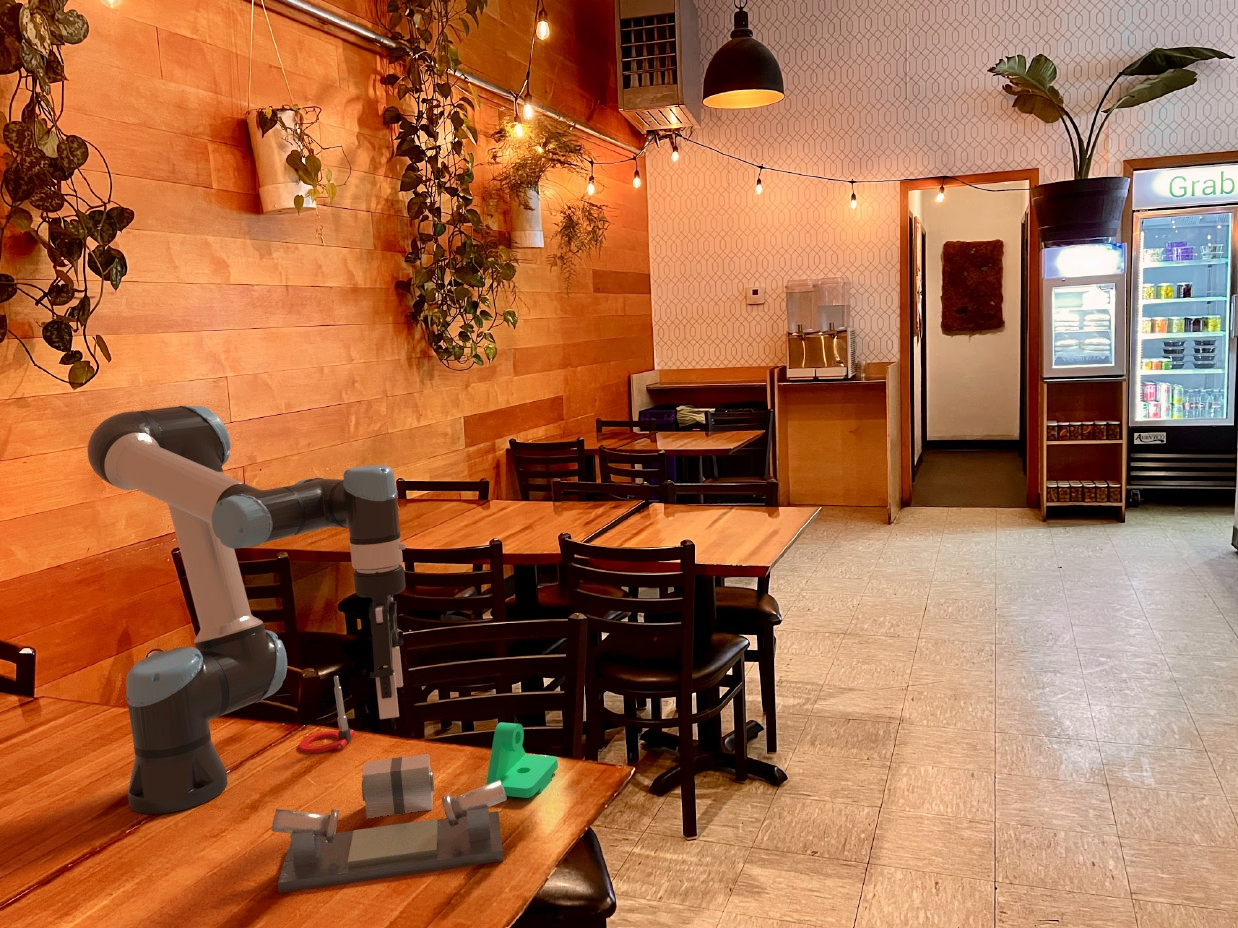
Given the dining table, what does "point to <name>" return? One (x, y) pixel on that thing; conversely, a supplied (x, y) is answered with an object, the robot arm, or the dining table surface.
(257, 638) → the robot arm
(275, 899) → the dining table surface
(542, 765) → the camera mount
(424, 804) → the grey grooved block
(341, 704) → the tow hook
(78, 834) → the dining table surface
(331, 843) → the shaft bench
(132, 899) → the dining table surface
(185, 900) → the dining table surface
